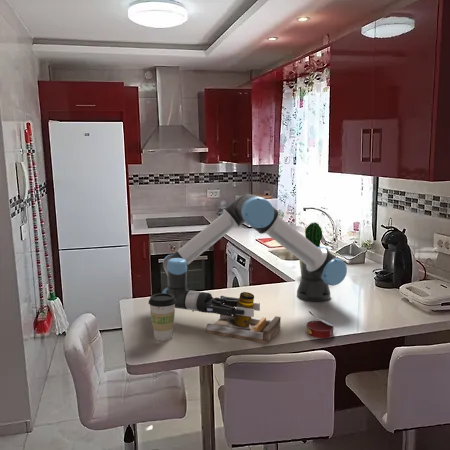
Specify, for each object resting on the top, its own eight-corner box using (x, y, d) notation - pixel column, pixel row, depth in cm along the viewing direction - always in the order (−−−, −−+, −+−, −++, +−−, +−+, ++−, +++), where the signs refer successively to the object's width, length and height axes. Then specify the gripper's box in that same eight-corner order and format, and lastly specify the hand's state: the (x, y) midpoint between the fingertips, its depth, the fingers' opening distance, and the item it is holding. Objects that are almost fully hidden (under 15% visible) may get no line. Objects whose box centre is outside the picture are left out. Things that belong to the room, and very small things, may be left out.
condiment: (252, 329, 164) (258, 298, 162) (229, 327, 162) (235, 296, 160) (248, 320, 171) (253, 291, 169) (226, 318, 169) (232, 289, 167)
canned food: (308, 340, 170) (309, 313, 173) (335, 341, 166) (336, 314, 170) (302, 336, 160) (302, 308, 164) (330, 338, 157) (330, 309, 160)
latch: (253, 335, 160) (253, 327, 160) (262, 325, 170) (262, 317, 169) (256, 335, 160) (256, 327, 159) (265, 325, 169) (265, 317, 169)
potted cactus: (316, 272, 247) (318, 218, 242) (332, 279, 233) (335, 222, 228) (292, 275, 242) (293, 220, 237) (307, 282, 228) (309, 224, 223)
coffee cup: (145, 341, 157) (144, 300, 155) (154, 330, 167) (153, 291, 164) (172, 343, 156) (172, 302, 153) (180, 332, 165) (179, 293, 163)
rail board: (205, 332, 165) (205, 321, 164) (221, 318, 179) (222, 308, 178) (268, 343, 156) (268, 331, 155) (280, 328, 169) (280, 317, 169)
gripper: (210, 303, 182) (264, 311, 173) (188, 319, 165) (247, 329, 156) (210, 285, 181) (265, 292, 172) (188, 299, 163) (247, 308, 154)
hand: (256, 310), depth 164 cm, fingers closed on condiment, 6 cm apart
